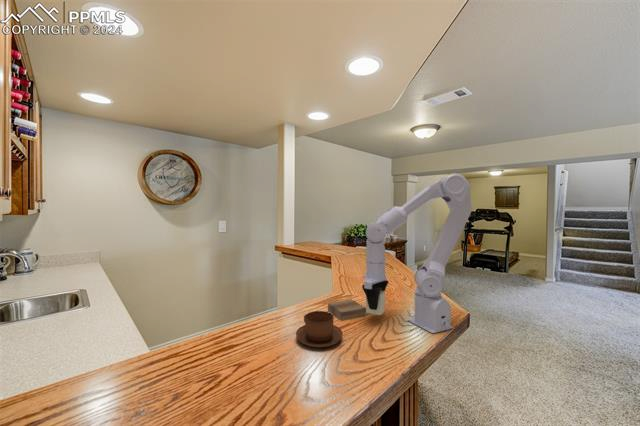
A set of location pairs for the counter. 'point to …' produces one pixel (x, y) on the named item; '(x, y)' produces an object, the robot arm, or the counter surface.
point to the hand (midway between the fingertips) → (375, 306)
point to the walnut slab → (346, 309)
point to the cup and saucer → (319, 330)
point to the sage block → (380, 305)
